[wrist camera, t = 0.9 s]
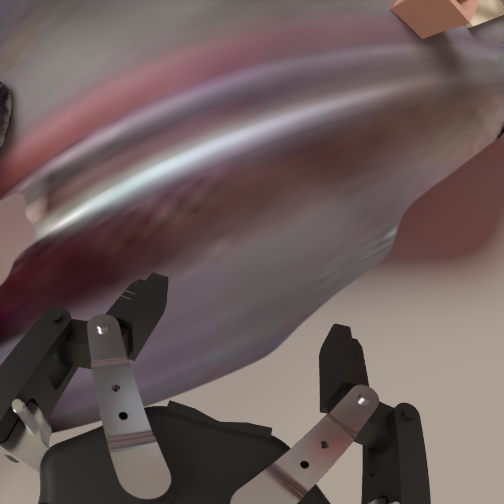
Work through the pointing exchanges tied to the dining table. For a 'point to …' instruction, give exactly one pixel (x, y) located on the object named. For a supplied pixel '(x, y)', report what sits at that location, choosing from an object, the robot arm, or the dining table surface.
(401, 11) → the pink hollow block
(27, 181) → the dining table surface
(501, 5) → the peg stand base
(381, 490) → the robot arm
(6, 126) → the crystal cluster
